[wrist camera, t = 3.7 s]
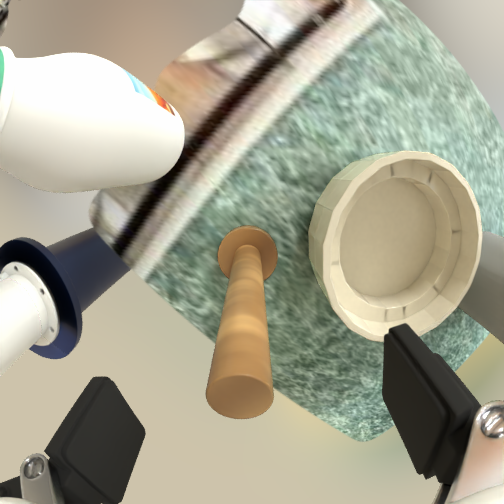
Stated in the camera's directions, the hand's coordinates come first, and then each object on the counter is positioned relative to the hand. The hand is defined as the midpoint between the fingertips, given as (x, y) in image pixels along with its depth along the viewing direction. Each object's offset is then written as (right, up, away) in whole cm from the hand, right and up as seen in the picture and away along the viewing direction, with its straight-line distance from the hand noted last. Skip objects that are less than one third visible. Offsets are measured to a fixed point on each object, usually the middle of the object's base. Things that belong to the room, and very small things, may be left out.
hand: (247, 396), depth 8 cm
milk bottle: (-9, +14, +14) cm, 22 cm away
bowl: (+12, +6, +16) cm, 21 cm away
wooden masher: (0, +4, +17) cm, 17 cm away
